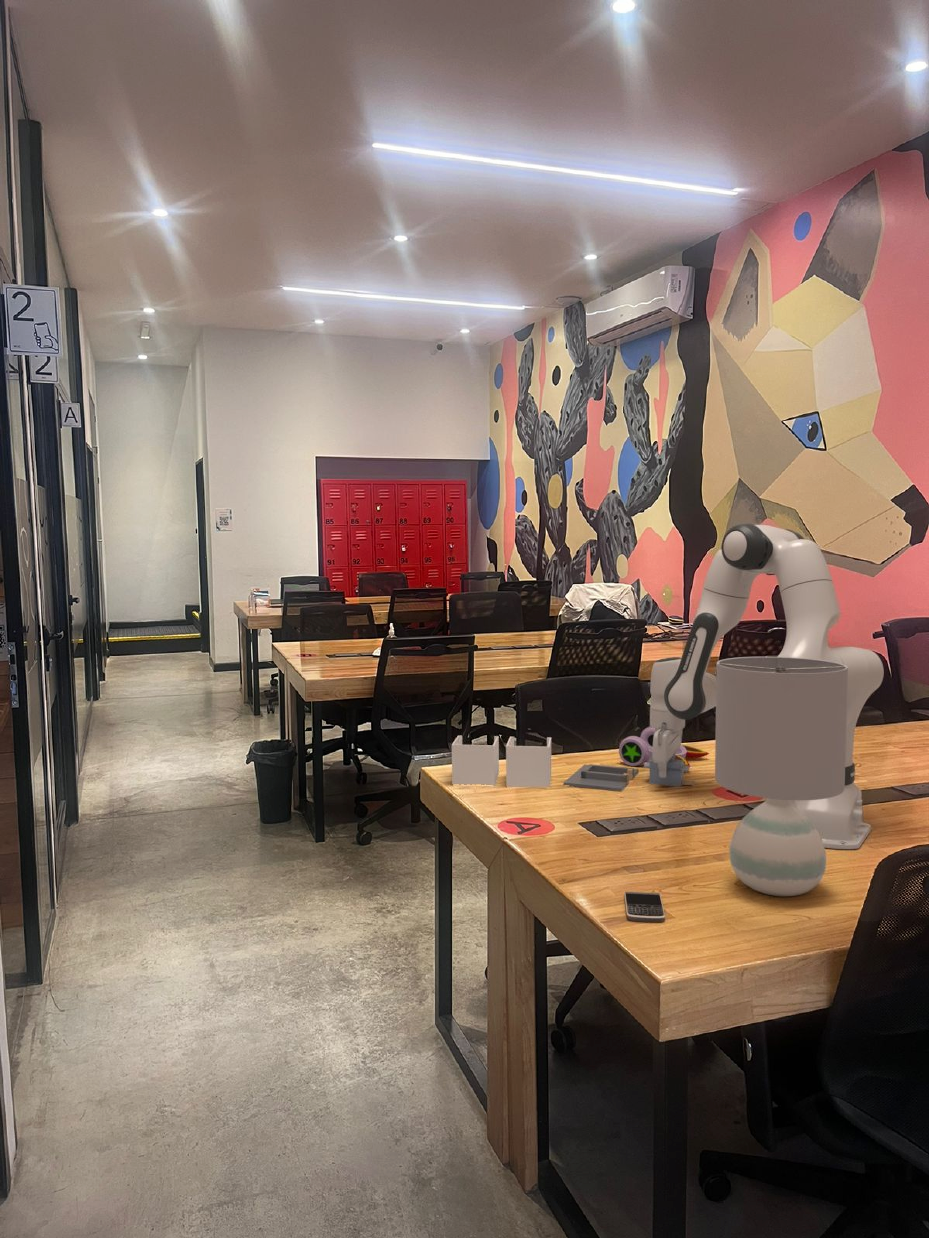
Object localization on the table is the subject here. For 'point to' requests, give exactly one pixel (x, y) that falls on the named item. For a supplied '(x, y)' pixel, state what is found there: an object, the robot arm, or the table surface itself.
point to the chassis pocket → (602, 777)
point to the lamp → (780, 762)
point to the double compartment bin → (483, 764)
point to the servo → (669, 773)
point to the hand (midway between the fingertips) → (666, 772)
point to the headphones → (651, 749)
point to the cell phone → (644, 907)
